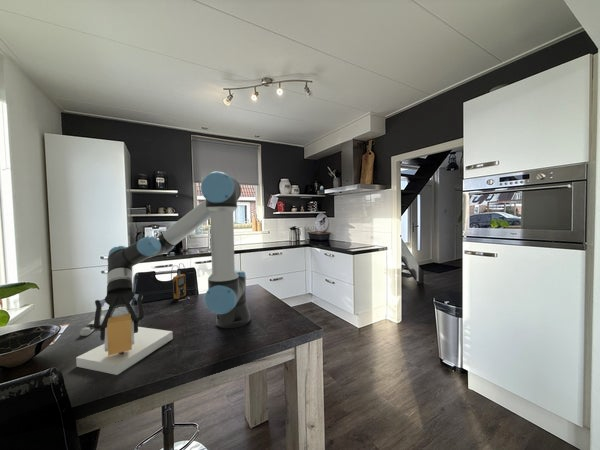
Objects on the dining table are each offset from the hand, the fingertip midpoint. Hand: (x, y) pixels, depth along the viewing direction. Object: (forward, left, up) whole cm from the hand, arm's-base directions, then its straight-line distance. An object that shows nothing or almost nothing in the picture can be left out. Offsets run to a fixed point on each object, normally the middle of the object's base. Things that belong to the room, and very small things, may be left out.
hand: (119, 346), depth 76 cm
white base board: (+7, -8, -7) cm, 13 cm away
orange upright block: (+3, -2, -2) cm, 4 cm away
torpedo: (+39, -20, -8) cm, 45 cm away
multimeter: (+28, -61, -8) cm, 68 cm away
